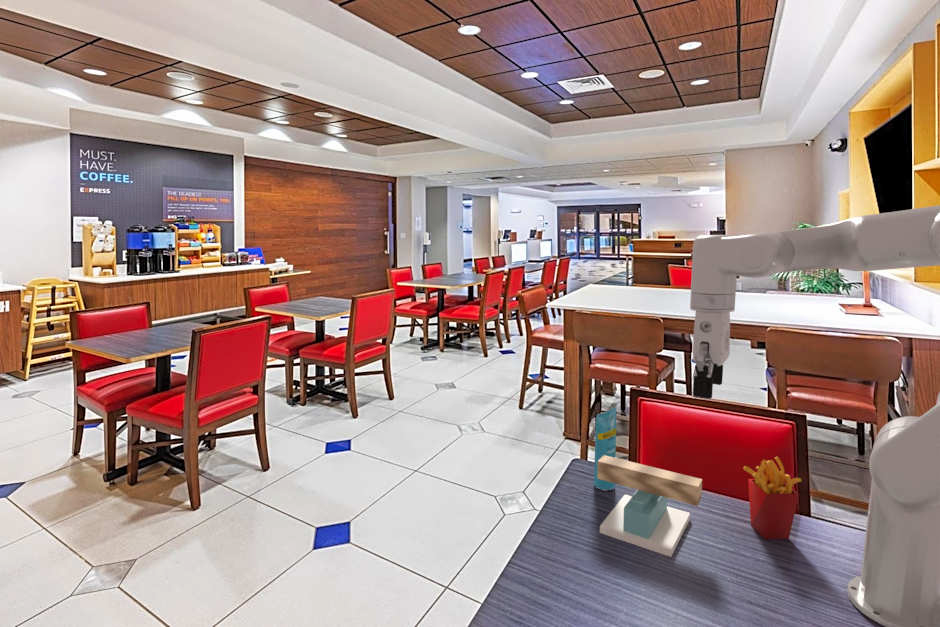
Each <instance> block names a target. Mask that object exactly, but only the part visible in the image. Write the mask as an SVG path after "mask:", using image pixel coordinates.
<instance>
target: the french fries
mask: <svg viewBox="0 0 940 627" xmlns="http://www.w3.org/2000/svg"><path fill="white" fill-rule="evenodd" d="M774 459H775V461H776V463H777V464H778V466H779V467H778V466H777V464H776V463H775V462H774V460H773V459H770V460H766V459H762V461H760V466H759V465H757V466H756V467H755V469H756V470H757V472H756V471H755V470H753V469H752V468H751V467H749V466H747V465H744V466H743V470H744V471H745V472H747V473H749V474H750V475H751V476H752V477H753V478H748V480H747V481H748V496H749V497H748V498H749V500H748V501H749V513H750V514H749V515H750V526H751V527H752V528H753V529H754V530H755V531H756V532H757V533H758V535H759V536H761V537H762V538H763V539H764V540H780V539H781V540H782V539H783V540H784V539H785V540H786V539H790V534H791V530H792V528H793V527H792V526H793V522H794V518H795V513H796V509H797V505H798V501H799V497H800V495H799V494H800V493H799V492H798V491H795V489H793V486H794V485H795V484H797V483H800V482H801V483H802V478H800V477H794V478H791V475H790V474H787V473H786V474H785V468H784V465H783V463H782V461H781V459H780V458H779V457H778V456H776V457H774ZM779 468H780V469H779Z"/></svg>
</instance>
